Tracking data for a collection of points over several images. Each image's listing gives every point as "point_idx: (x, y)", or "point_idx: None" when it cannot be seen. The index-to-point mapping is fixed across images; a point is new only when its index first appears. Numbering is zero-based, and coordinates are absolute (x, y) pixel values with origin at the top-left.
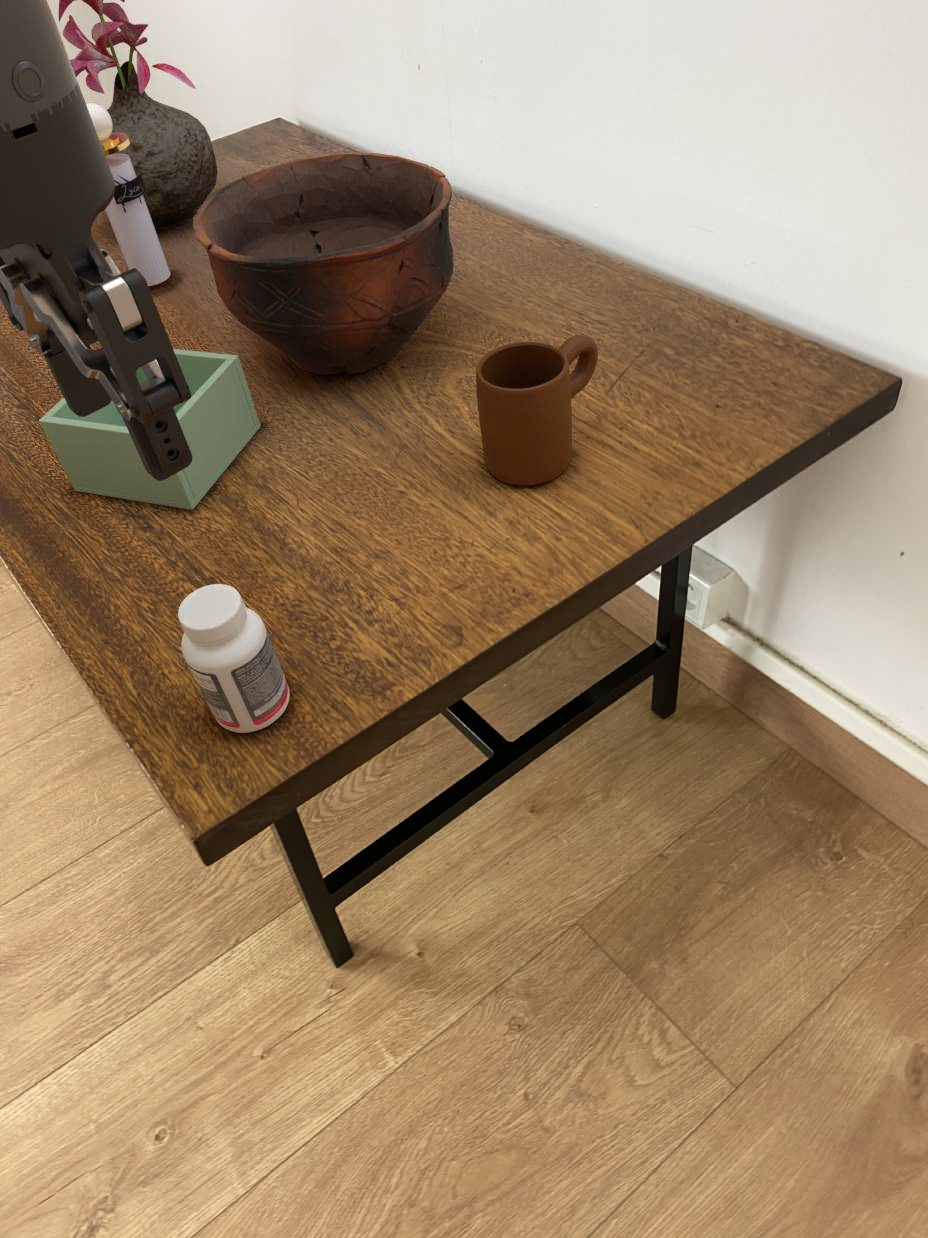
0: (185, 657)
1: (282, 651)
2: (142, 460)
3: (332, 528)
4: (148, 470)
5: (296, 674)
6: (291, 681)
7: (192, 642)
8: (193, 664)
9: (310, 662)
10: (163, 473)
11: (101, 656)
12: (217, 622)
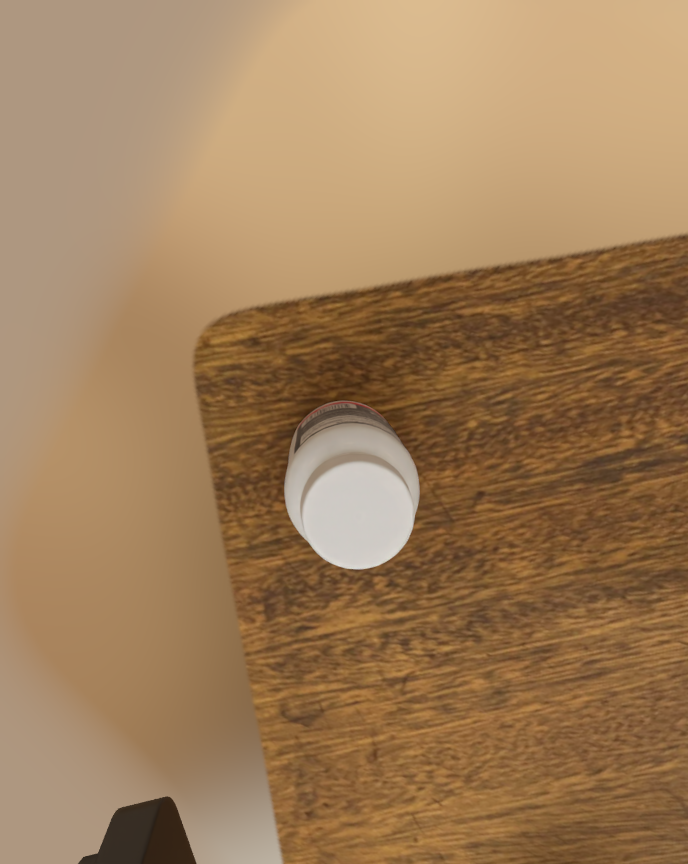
0: (341, 428)
1: None
2: (131, 852)
3: (595, 663)
4: (131, 822)
5: None
6: None
7: (349, 451)
8: (320, 434)
9: None
10: (90, 855)
11: (570, 285)
12: (310, 517)
